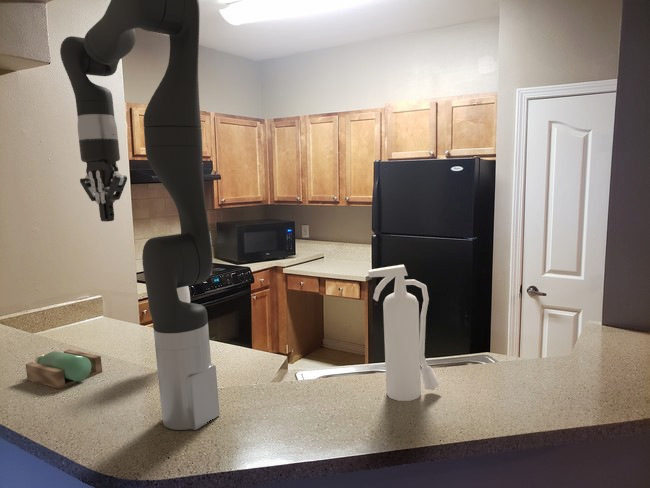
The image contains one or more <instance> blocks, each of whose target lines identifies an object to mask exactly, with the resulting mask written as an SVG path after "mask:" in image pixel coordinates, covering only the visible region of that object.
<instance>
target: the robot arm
mask: <svg viewBox="0 0 650 488" xmlns="http://www.w3.org/2000/svg"><path fill="white" fill-rule="evenodd" d="M200 10H201V8H200V0H110V2H109V4H108V6H107V7H106V10H105V12H104V14H103V16H102V17H101V18H100V19H99V20H98V21H97V22H96V23H95V24H94V25H93V26H92V27H90V29H88V31H87V32H86V34H85V35H84V37H79V36H67V37H65V38H64V40H63V41H62V42H61V44H60V48H59V52H60V53H59V55H60V59H61V62H62V65H63V67H64V70H65V72H66V74H67V78H68V80H69V81H70V86H71V88H72V90H73V93H74V98H75V103H76V104H75V106H76V114H77V115H76V116H77V136H78V144H79V153H80V160H81V162H83V163H86V169H85V173H86V176H85V177H84V178H83V177H82V178H80V179H79V182H80V184H81V186H82V187H83V190H84V191H85V193H86V194H87V196H88V198H89V199H90V200H91V202H96V204H98V211H99V217H100V221H101V222H114V220H115V211H114V210H115V209H114V203H115V202H116V201H117V200H118V201H119V200H120V199H121V196H122V194H123V191H124V188H125V186H126V184H127V182H128V181H127V180H128V177H127V175H122V174H121V173H120V172H119V167H118V164H117V162H119V161H120V160H121V155H120V146H119V143H120V142H119V136H118V127H117V122H116V118H115V110H114V100H113V93H112V92H111V90H110V89H108V88H107V87H105V86H101V85H98V84H96V83H94V82H92V81H91V80H90V78H89V77H88V76H87V75H89V76H96V77H110V76H113V75H114V74H115V73H116V71H117V69H118V65H119V63H120V60H122V59H123V58H124V57H126V56H128V54H129V53H130V52H131V51H132V50H133V48H134V47H135V45H136V39H137V35H136V29H141V30H143V31H146V32H151V33H155V34H156V33H157V34H161V35H167V36H168V38H169V56H168V57H169V58H168V64H167V67H166V70H165V71H164V74H163V77H162V79H161V80H160V83H159V84H158V86H157V87H156V89H155V91H154V92H153V94H152V96H151V97H150V99H149V102H148V103H147V106H146V108H145V111H144V114H143V133H144V146H145V147H144V149H145V150H144V151H145V155H146V159H147V161H148V164H149V165H150V168H151V169H152V171H153V172H154V174H155V175H156V177H157V178H158V180H159V181H160V183H161V184H162V185H163V187H164V188H165V190H166V191H167V192H168V194H169V195H170V197H171V199H172V201H173V202H174V205H175V207H176V210H177V214H178V218H179V224H180V233H177V234H170V235H161V236H156V237H151V238H149V239H147V241H146V242H145V244H144V245H143V249H142V270H143V277H144V281H145V287H146V289H145V290H146V295H147V302H148V309H149V312H150V317H151V320H152V326H153V337H154V347H155V358H156V368H157V377H158V378H157V380H158V388H159V397H160V407H161V416H162V418H161V419H162V425H163V426H164V427H166V429H170V430H175V431H176V430H177V431H183V430H185V431H186V430H194V431H197V430H199V429H200V428H202V427H203V426H205V425H206V424H208V423H209V421H210V420H211V421H213V420H214V419H216V418H218V417H219V416H220V415H221V414H220V402H219V401H220V400H219V391H218V390H219V389H218V377H217V366H216V365H215V364H212V358H211V345H210V335H209V334H210V332H209V330H210V329H209V322H208V320H209V319H208V310H207V308H206V307H205V306H204V305H202V304H199V303H193V302H190V303H187V302H182V301H180V300H179V297H178V293H177V288H180V287H185V286H188V287H189V286H190V287H191V286H193V285H197V284H202V283H204V282H207V280H208V279H209V278H210V276H211V274H212V271H213V270H212V269H213V261H214V260H213V248H212V241H211V240H212V239H211V233H210V232H211V231H210V225H209V218H208V213H207V205H206V197H205V196H206V194H205V183H204V167H203V166H204V162H203V161H204V160H203V158H204V157H203V156H204V155H203V131H202V130H203V129H202V119H201V110H200V109H201V108H200V92H199V91H200V89H199V83H200V82H199V57H200V56H199V53H200V52H199V51H200V23H201V21H200V19H201V18H200V17H201V16H200V13H201V12H200ZM212 419H213V420H212ZM211 421H210V422H211ZM207 422H208V423H207Z"/></svg>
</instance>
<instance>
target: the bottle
mask: <svg viewBox="0 0 650 488" xmlns="http://www.w3.org/2000/svg"><path fill="white" fill-rule="evenodd" d="M34 363H37V364H41V365H45V366H49V367H53V368H57V369H61V370H63V371H64V378H66V379H70V380H74V381H79V382H82V381H83V380H86V379H87V378H86V377H87V376H88V375H89V373H90V371H91V362H90V360H89V359H88V358H86V357H82V356H77V355H72V354H67V353H64V351H63V352H62V351H57V350H54V351H51V352H49V353H46V354H38V355H37V356H36V357H35V358H34ZM85 378H86V379H85Z"/></svg>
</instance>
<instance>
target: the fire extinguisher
mask: <svg viewBox="0 0 650 488" xmlns="http://www.w3.org/2000/svg"><path fill="white" fill-rule="evenodd" d="M405 276H406V277H408V276H409V275H408V272H407V269H406V265H404V264H398V265H392V266H386V267H379V268H373V269H368V278H380V277H381V278H383V279H382V280H380V282H379V283H378V285H376V287H375V289H374V293H373V297H372V299H373V300H375V301H376V302H378V301H379V297H380V294H381V292H382V291H383V289H384V288H385V287H386V285H387V284H389V283H390V282H391V281H392V280H393V279H395V280H394V289H393V292H392V293H390V294H388V295H387V296H385V298H384V300H383V303H382V306H383V308H382V309H383V312H382V313H383V332H384V333H383V335H384V337H383V338H384V339H383V340H384V359H385V360H384V363H385V388H386V395H387V396H388V398H389V399H392V400H395V401H398V402H411V401H414V400H418V399H419V398H420V396H421V395H422V382H423V386H424V389H425V390H431V391H432V390H435V389H436V388H437V387H439V386H440V385H441V384H442V383H441V382H440V380H439V378H438V376H437V375H436V373H435V371H434V370H433V368H432V366H430V365H428V363H427V359H426V357H425V347H426V344H425V343H426V324H427V323H426V322H427V319H426V318H427V311H428V305H429V301H430V298H429V293H428V287H427V285H426V284H425V283H422V282H421V281H418V280H416V279H405ZM411 285H412V286H416V287H418V288H420V289H421V293H422V298H423V302H422V308H421V312H420V310H419V309H420V308H419V304H420V303H419V301H418V299H417V297H416V296H415V294H414V295H413V294H412V293H410V292H408V291H407V286H411ZM421 377H422V379H421Z"/></svg>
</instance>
